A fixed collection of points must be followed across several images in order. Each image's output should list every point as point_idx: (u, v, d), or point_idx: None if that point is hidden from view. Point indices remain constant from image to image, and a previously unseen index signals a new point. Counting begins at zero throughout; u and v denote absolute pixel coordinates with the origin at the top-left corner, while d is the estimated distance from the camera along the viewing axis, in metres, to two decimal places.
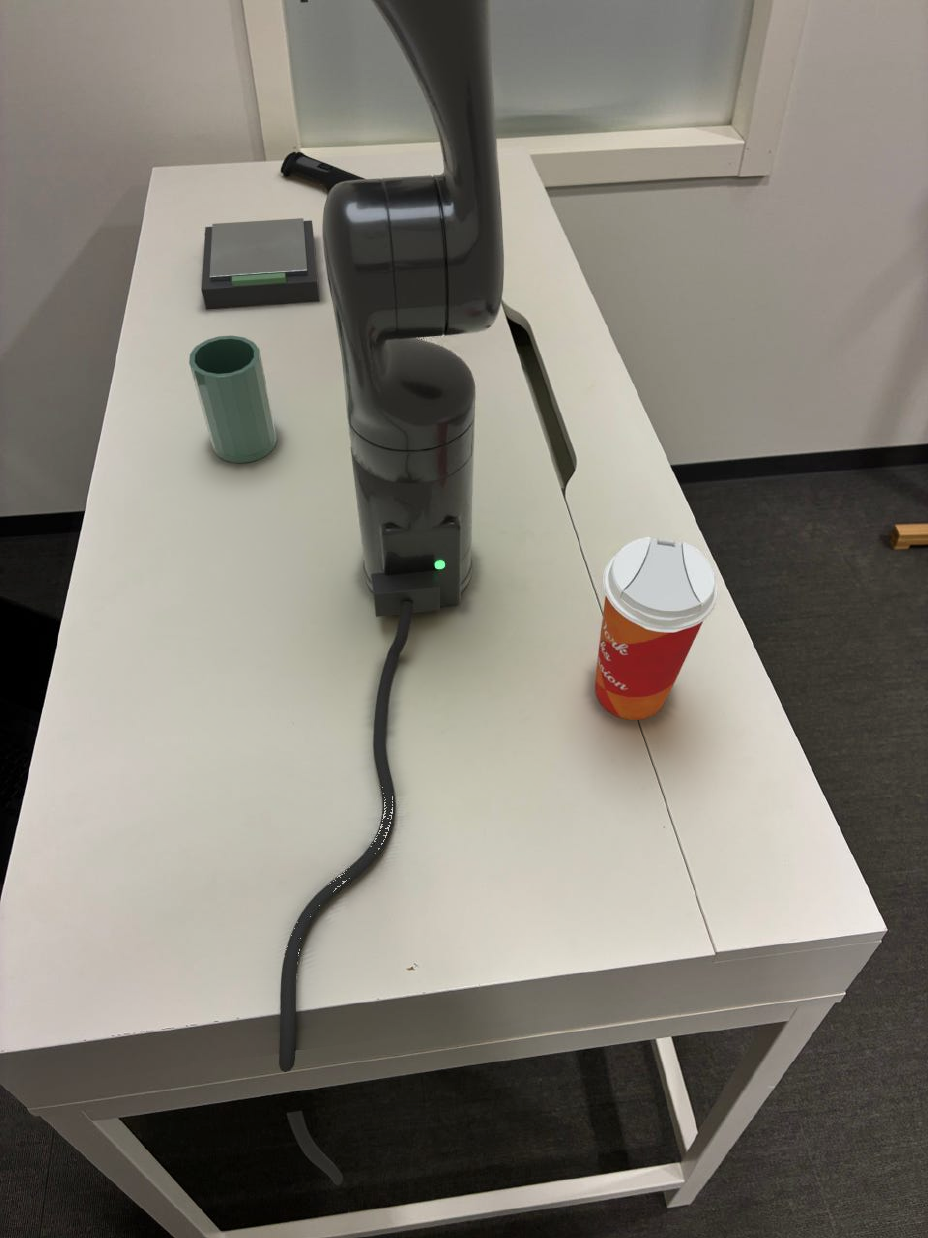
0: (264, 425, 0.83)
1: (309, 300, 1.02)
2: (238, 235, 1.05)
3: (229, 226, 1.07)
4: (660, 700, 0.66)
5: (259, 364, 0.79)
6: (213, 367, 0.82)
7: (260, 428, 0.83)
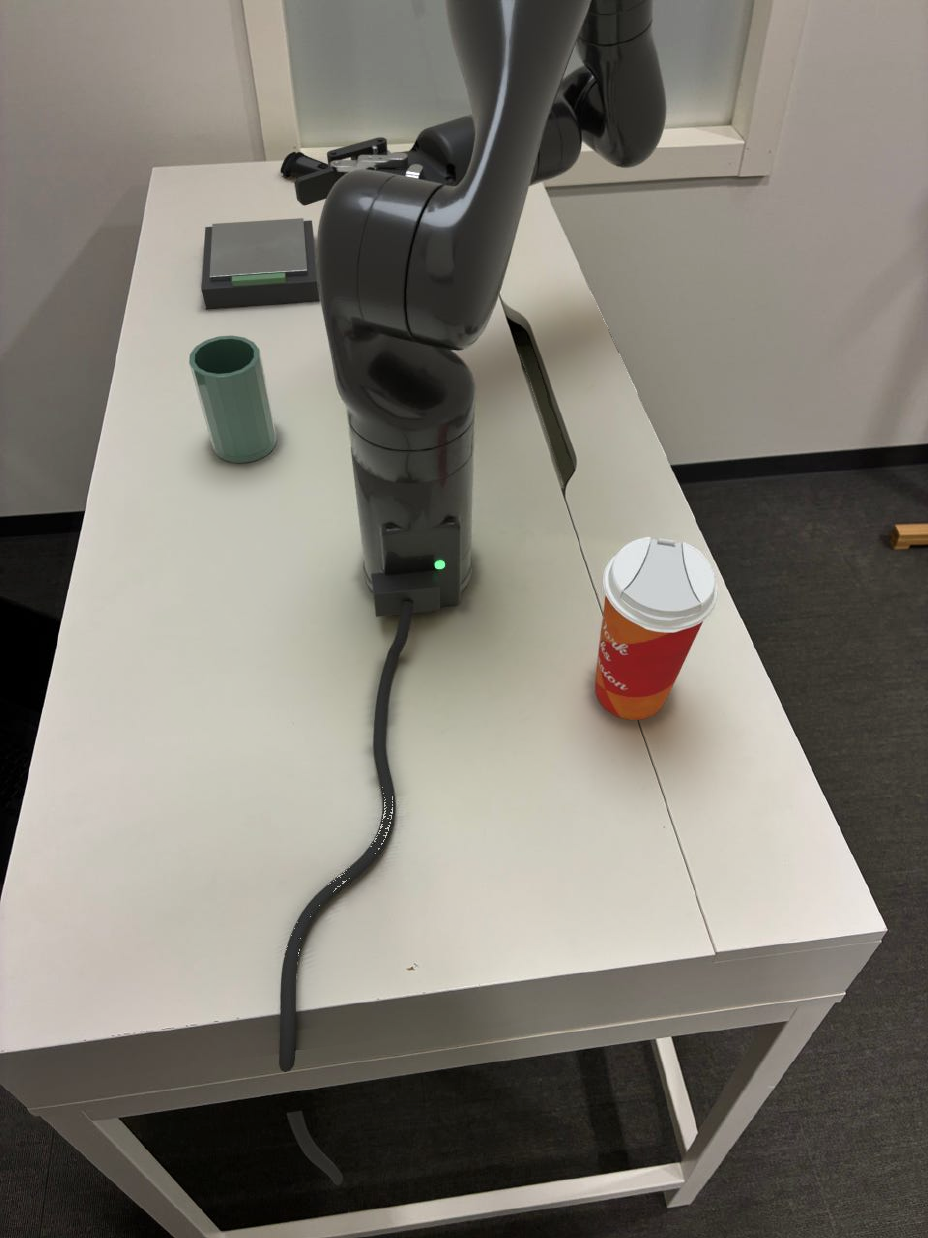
0: (264, 425, 0.83)
1: (309, 300, 1.02)
2: (238, 235, 1.05)
3: (229, 226, 1.07)
4: (660, 700, 0.66)
5: (259, 364, 0.79)
6: (213, 367, 0.82)
7: (260, 428, 0.83)
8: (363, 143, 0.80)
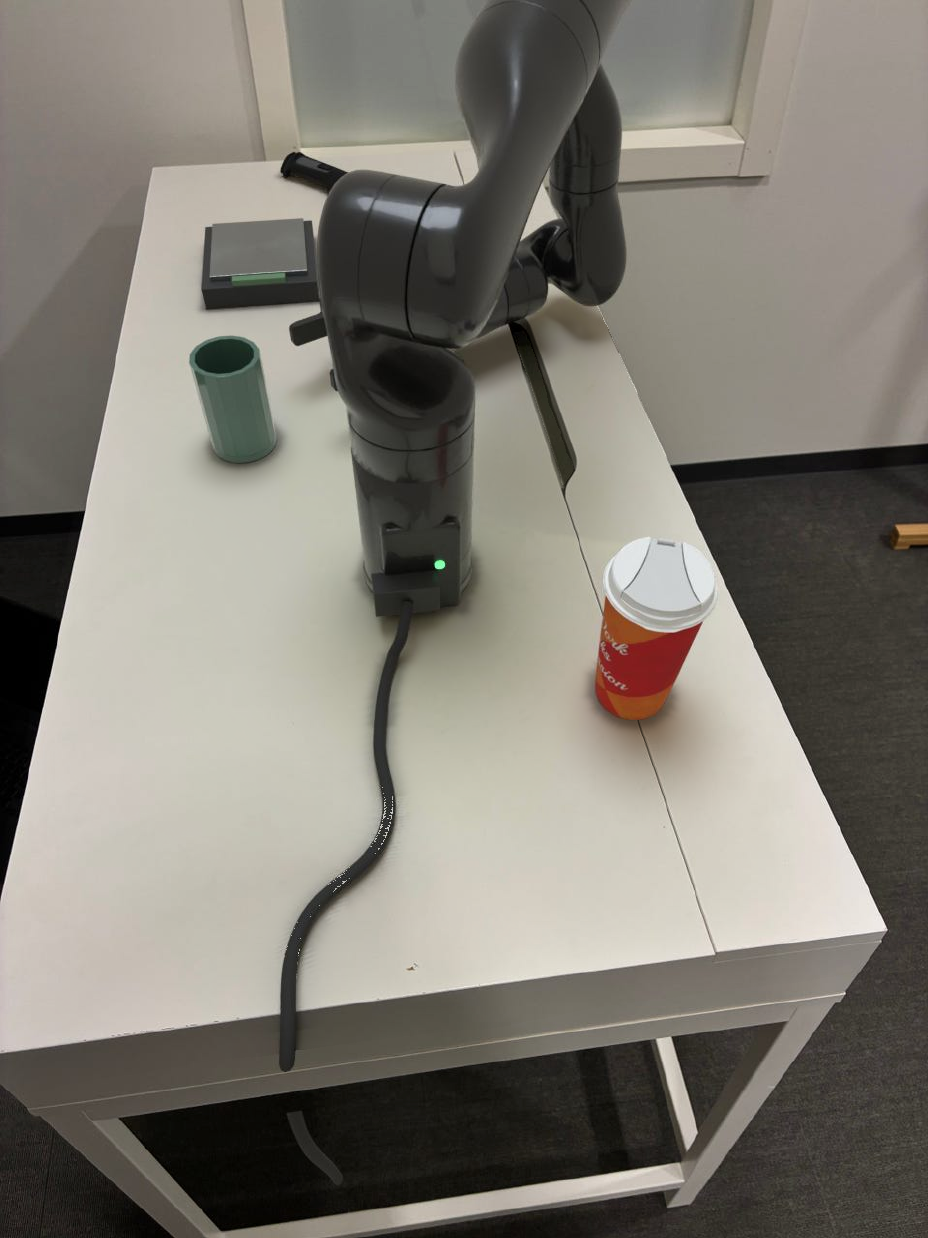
0: (264, 425, 0.83)
1: (309, 300, 1.02)
2: (238, 235, 1.05)
3: (229, 226, 1.07)
4: (660, 700, 0.66)
5: (259, 364, 0.79)
6: (213, 367, 0.82)
7: (260, 428, 0.83)
8: None
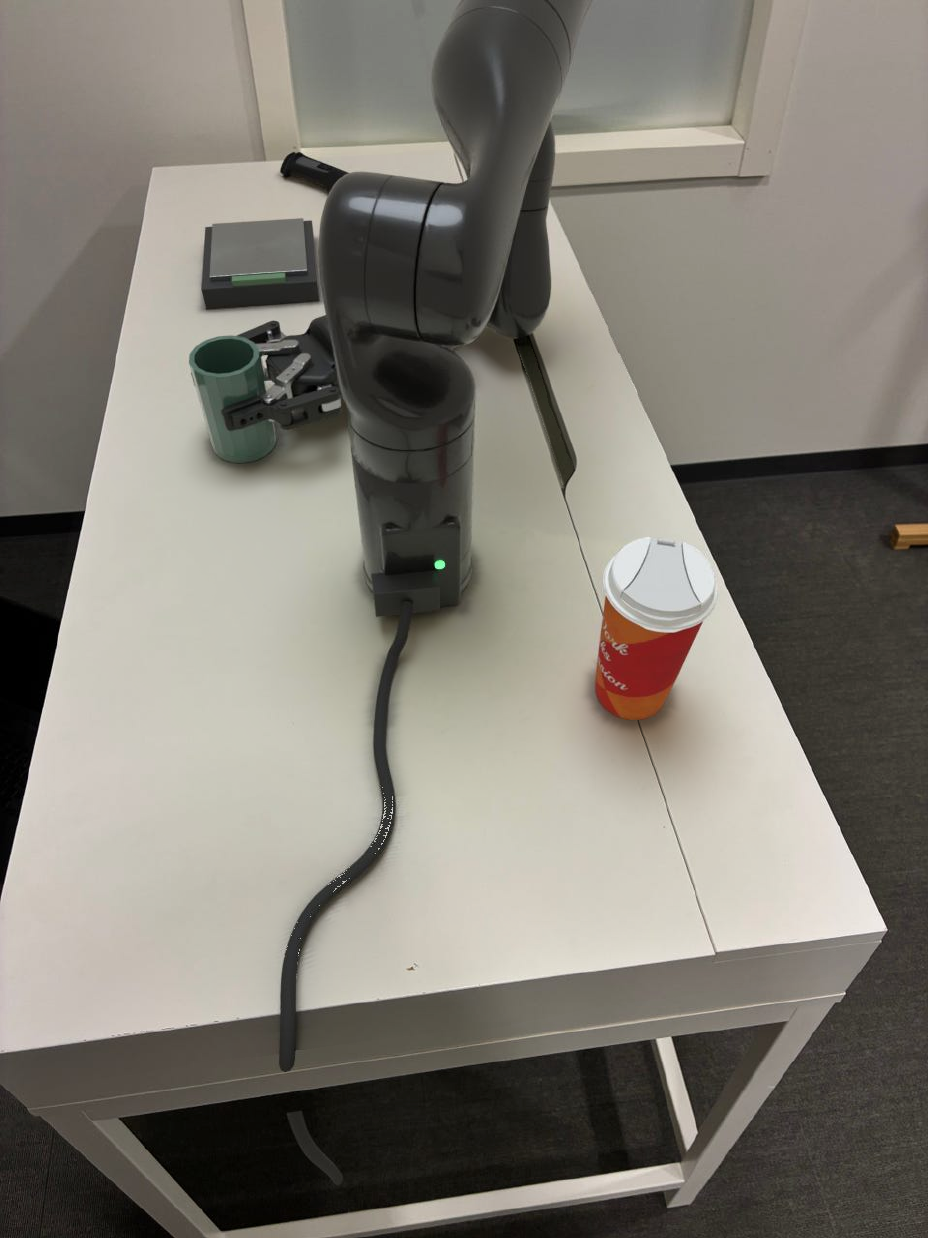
0: (264, 425, 0.83)
1: (309, 300, 1.02)
2: (238, 235, 1.05)
3: (229, 226, 1.07)
4: (660, 700, 0.66)
5: (259, 364, 0.79)
6: (213, 367, 0.82)
7: (260, 428, 0.83)
8: (258, 329, 0.86)
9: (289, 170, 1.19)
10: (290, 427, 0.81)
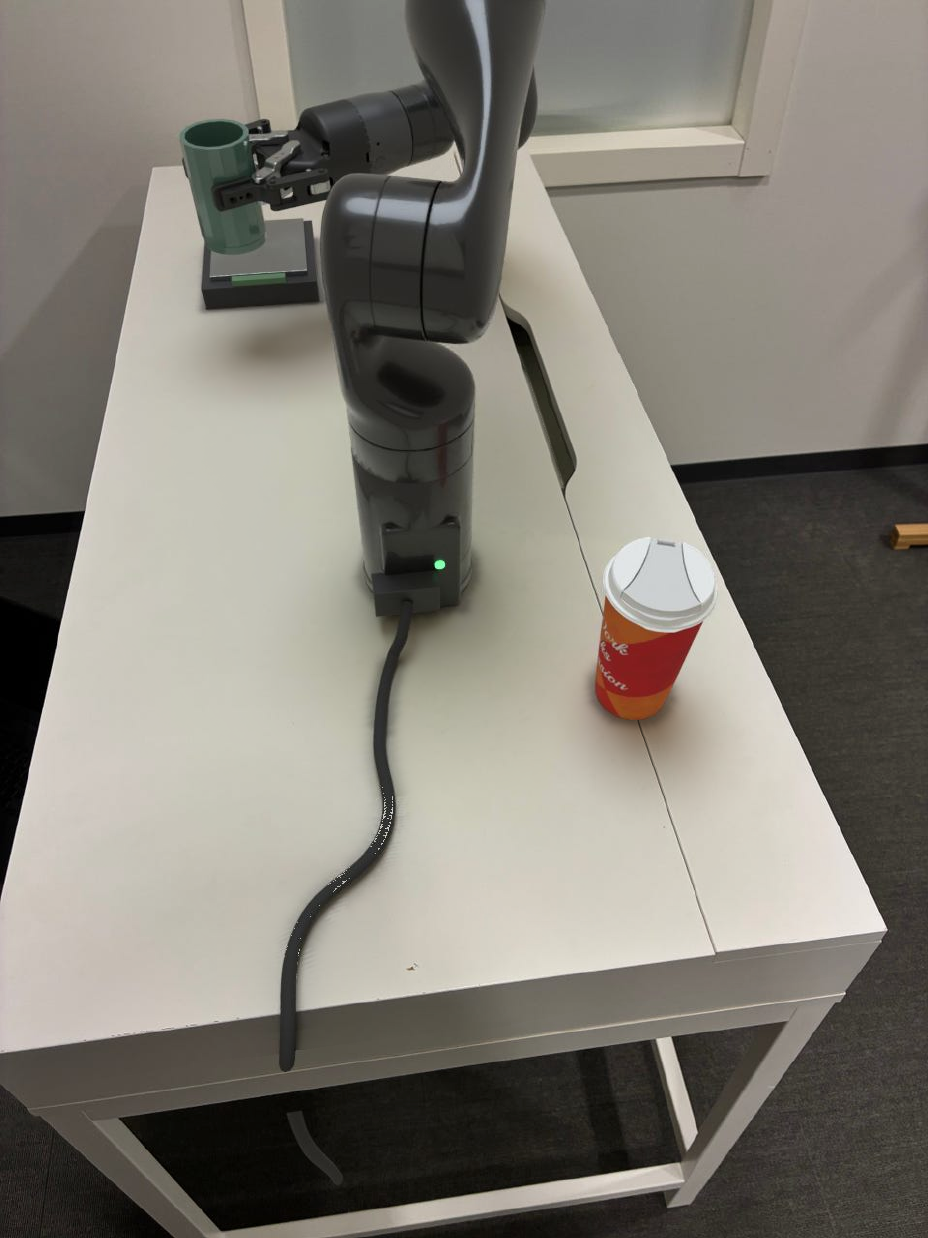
0: (254, 213, 0.84)
1: (309, 300, 1.02)
2: None
3: None
4: (660, 700, 0.66)
5: (248, 142, 0.80)
6: None
7: (250, 215, 0.84)
8: (248, 125, 0.87)
9: None
10: (279, 208, 0.82)
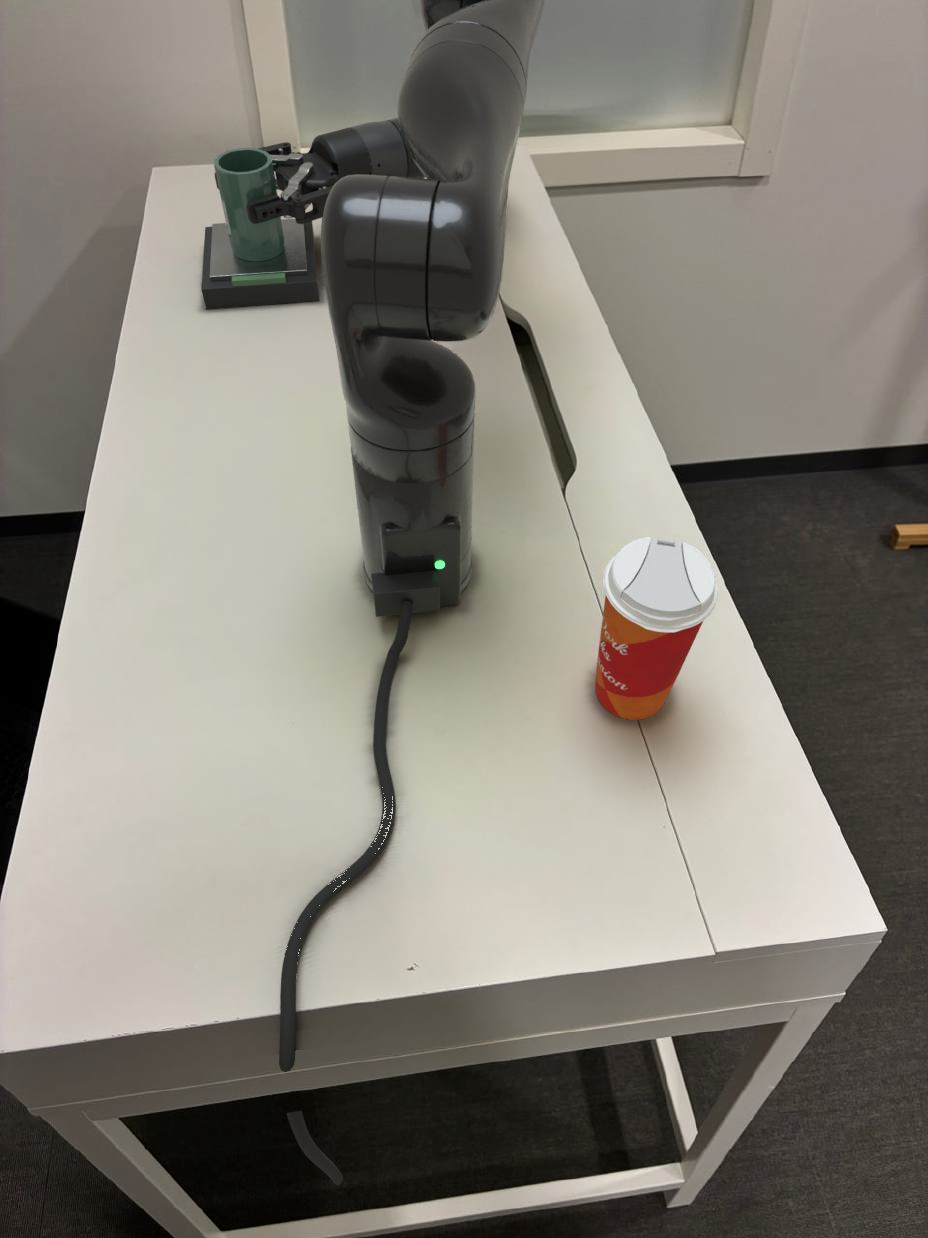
0: (275, 226, 1.00)
1: (309, 300, 1.02)
2: None
3: None
4: (660, 700, 0.66)
5: (271, 168, 0.96)
6: None
7: (272, 228, 1.00)
8: (272, 146, 1.03)
9: None
10: (304, 221, 0.97)
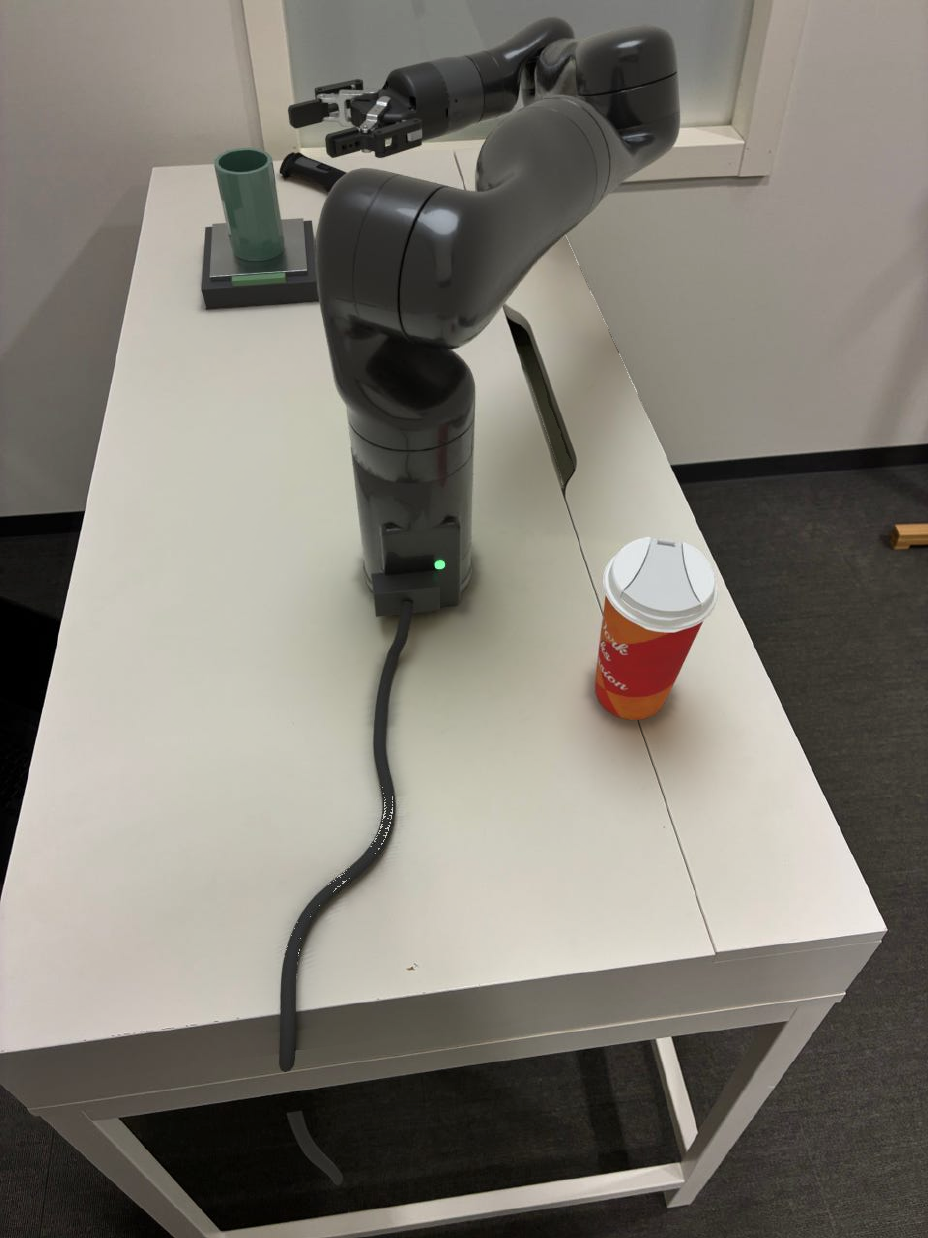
0: (275, 226, 1.00)
1: (309, 300, 1.02)
2: None
3: None
4: (660, 700, 0.66)
5: (271, 168, 0.96)
6: None
7: (272, 228, 1.00)
8: (344, 83, 1.00)
9: (288, 170, 1.19)
10: (384, 155, 0.94)
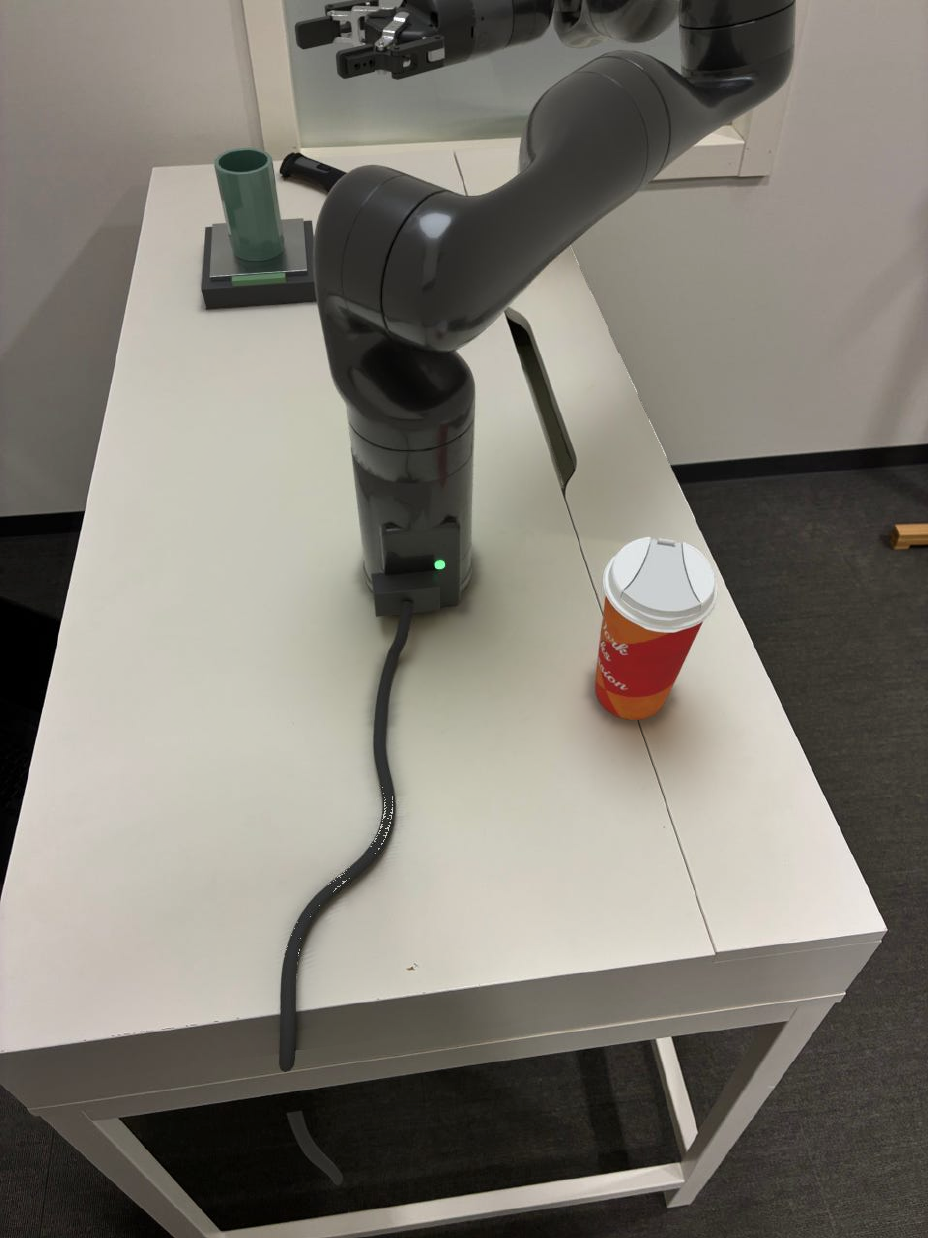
0: (275, 226, 1.00)
1: (309, 300, 1.02)
2: None
3: None
4: (660, 700, 0.66)
5: (271, 168, 0.96)
6: None
7: (272, 228, 1.00)
8: (357, 0, 0.90)
9: (288, 170, 1.19)
10: (402, 76, 0.83)
